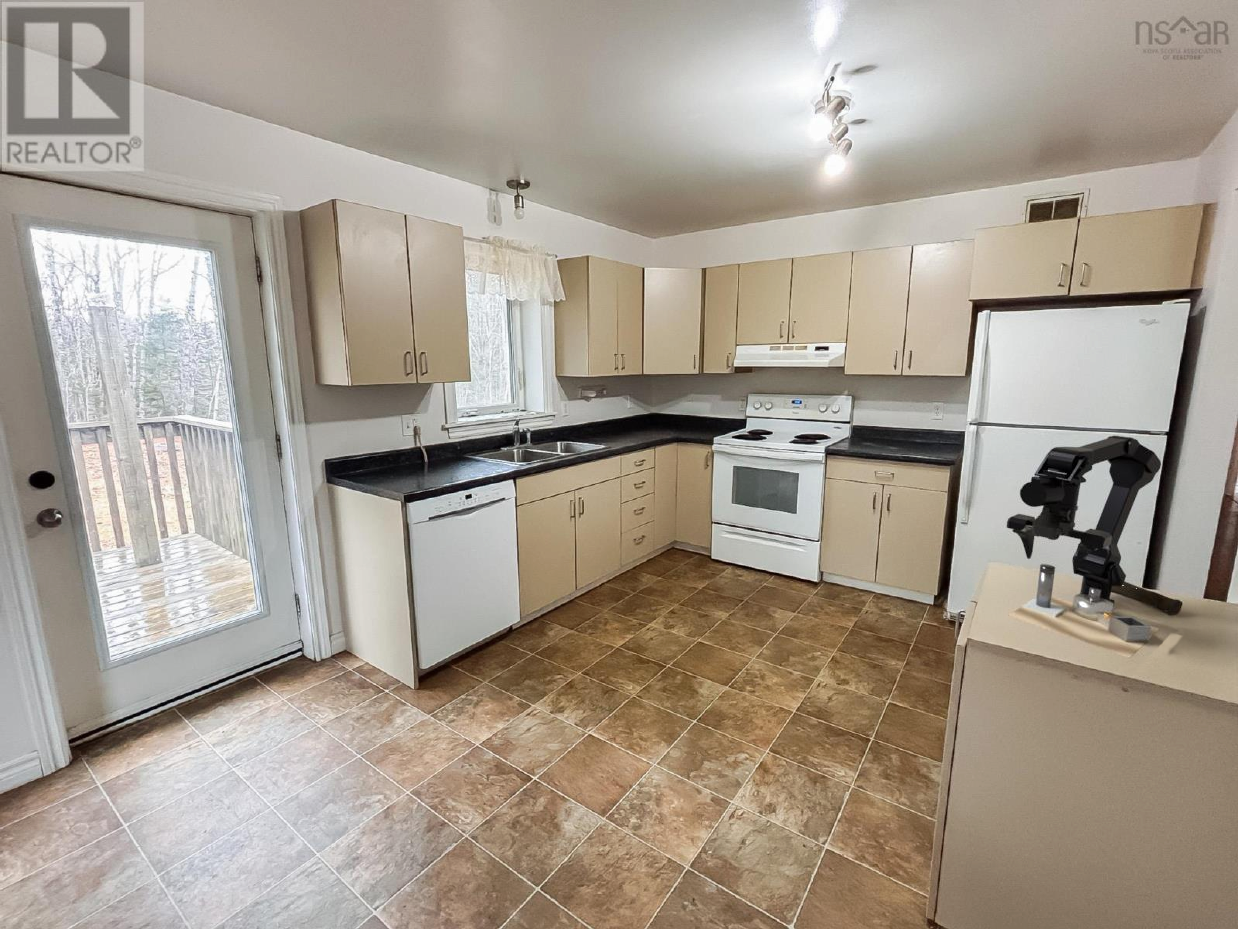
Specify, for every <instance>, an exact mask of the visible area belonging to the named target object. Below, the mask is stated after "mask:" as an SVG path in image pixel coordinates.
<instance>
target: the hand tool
mask: <svg viewBox="0 0 1238 929" xmlns="http://www.w3.org/2000/svg"><path fill="white" fill-rule="evenodd" d="M1122 585H1124V586H1122ZM1122 585H1121V586H1112V590H1111V593H1116V594H1120V595H1123V596H1125V597H1128V598H1131V599H1133V600H1135V601H1138V602H1140V603H1143V604H1146V605H1147V606H1150V607H1153V608H1156V609H1158V610H1160V611H1164V612H1167V613H1168V616H1174V615H1178V614H1179V613H1180V612H1181V610H1182V608H1183V604H1184V603H1183V601H1181V600H1180V599H1176V598H1170V597H1168V596H1166V595H1164V594H1161V593H1158V592H1156V591H1153V590H1152V591H1151V590H1149V589H1146V588H1144V587H1140V586H1137V585H1135V584H1132V583H1130V582H1127V581H1126V580H1125V581H1124V583H1123V584H1122ZM1136 588H1137V589H1136Z"/></svg>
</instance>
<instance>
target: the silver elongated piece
mask: <svg viewBox="0 0 1238 929" xmlns="http://www.w3.org/2000/svg"><path fill="white" fill-rule="evenodd" d="M1100 593H1101V589H1099V588H1095V587H1090V590H1089V595H1087V594H1080V593H1078V594H1075V595H1074V596H1073V602H1072V603H1073V606H1072V612H1073V613H1075V614H1076V615H1078V616H1080V617H1083V618H1085V619H1089V620H1093V621H1098V622H1099V623H1101V624H1103V625H1104V626H1106V627H1108V631H1109V632H1111V633H1112V634H1114V635H1116V636H1117V637H1119V638H1121V639H1122V640H1124V641H1125V642H1145V643H1148V642H1149V640H1150V639H1149V635H1150V631H1151V627H1152V626H1151V625H1148V624H1146V623H1145V622H1143V621H1141V620H1139V619H1138V618H1135V617H1134V616H1118V617H1115V616H1116V615H1115V614H1112V613H1113V608H1114V603H1113V604H1112V603H1111V602H1110V601H1108V600H1106V599H1104V598H1101V597H1100ZM1114 615H1115V616H1114ZM1150 626H1151V627H1150Z"/></svg>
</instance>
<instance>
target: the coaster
mask: <svg viewBox="0 0 1238 929" xmlns="http://www.w3.org/2000/svg"><path fill="white" fill-rule="evenodd" d="M1036 598H1037V597H1034V598H1033V599H1031V600H1029V601H1028V602H1026V603H1024V604H1023V606H1024V607H1025V608H1028V609H1031V610H1034V611H1037V612H1040V613H1043V614H1047V615H1050V616H1053V617H1056V616H1058V615H1059V614H1060V613H1062V612H1063V611H1065V610H1066V607H1063V606H1060V605H1056V604H1053V603H1051V605H1050V607H1049V608H1045V607H1040V606H1038V605H1036Z"/></svg>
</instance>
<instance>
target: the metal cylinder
mask: <svg viewBox="0 0 1238 929" xmlns="http://www.w3.org/2000/svg"><path fill="white" fill-rule="evenodd" d="M1055 571H1056V566H1054V565H1052V564H1046V563H1042V564H1039V572H1038V583H1037V592H1036V597H1035V598H1036V605H1038V606H1040V607H1045V608H1049V607H1050V605H1051V597H1053V596H1052V595H1053V588H1054V578H1055Z"/></svg>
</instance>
